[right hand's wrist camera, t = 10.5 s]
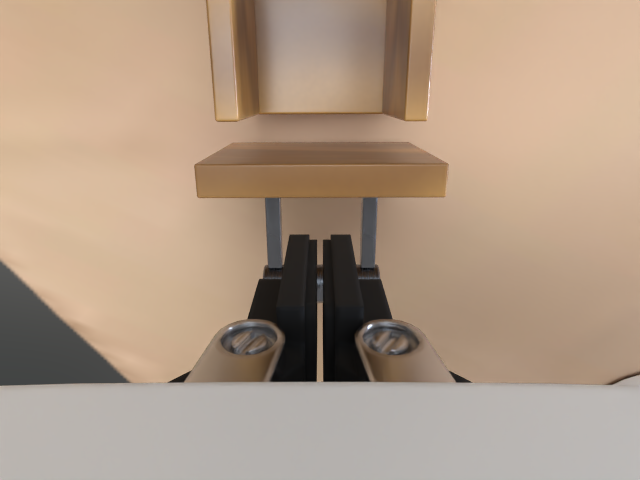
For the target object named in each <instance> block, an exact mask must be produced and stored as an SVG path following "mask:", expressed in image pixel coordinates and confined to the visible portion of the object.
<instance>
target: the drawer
mask: <svg viewBox="0 0 640 480" xmlns="http://www.w3.org/2000/svg"><path fill="white" fill-rule="evenodd" d="M206 6H207V19H208V32H209V45H210V58H211V71H212V83H213V96H214V109H215V120H216V121H218V122H237V121H240V120H243V119H246V118H249V117H252V116H254V115H257V114H385V115H388V116H391V117H395V118H398V119H401V120H404V121H427V119H428V107H429V93H430V80H431V66H432V53H433V39H434V26H435V13H436V0H206ZM448 167H449V165H448V163H446V162H444V161H442V160H440V159H438V158H437V157H435V156H433V155H431V154H429V153H427V152H426V151H424V150H422V149H420V148H418V147H416V146H415V145H413V144H411V143H409V142H337V143H232V144H230V145H228V146H226V147H225V148H223V149H221V150H220V151H218V152H216V153H214V154H213V155H211V156H209V157H207V158H206V159H204V160H202V161H200V162H199V163H197V164H195V166H194V168H195V178H196V189H197V196H198V198H265V208H266V231H267V253H268V265H265V267H264V272H263V279H281V278H282V273H283V268H284V265H283V250H282V219H281V198H356V197H362V204H361V238H360V265H356V268H357V273H358V278H359V279H380V272H379V267H378V265H376V264H375V248H376V224H377V199H378V197H445V196H446V189H447V178H448ZM317 303H323V265H317Z"/></svg>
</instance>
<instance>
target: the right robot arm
mask: <svg viewBox="0 0 640 480" xmlns="http://www.w3.org/2000/svg"><path fill="white" fill-rule="evenodd" d="M0 480H640V375H637V376H634V377H630V378H627V379H624V380H622V381H619V382H617V383H615V384H613V385H588V384H551V383H472V382H470V381H468V380H466V379H464V378H462V377H460V376H458V375H456V374H454V373H452V372H450V371H449V370H448V369H447V368H446V366H445V365H444V363H443V362H442V360H441V359H440V357H439V356H438V354H437V353H436V351H435V350H434V348H433V347H432V345H431V344H430V342H429V341H428V339H427V338H426V336H425V335H424V334H423V333H422V332H421V331H420V329H418V328H416V327H415V326H413V325H411V324H409V323H406V322H403V321H399V320H393V319H392V316H391V312H390V309H389V305H388V302H387V298H386V295H385V292H384V288H383V285H382V281H381V279H359V278H358V273H357V268H356V262H355V257H354V251H353V246H352V241H351V236H350V235H331V240H323V382H317V240H309V235H290V236H289V241H288V246H287V251H286V257H285V262H284V268H283V273H282V278H281V279H259V281H258V285H257V288H256V292H255V295H254V298H253V302H252V305H251V309H250V312H249V315H248V319H247V320H241V321H237V322H234V323H231V324H229V325H227V326H225V327H224V328H222V329H220V331H219V332H218V333H217V334H216V335H215V336H214V338H213V339H212V341H211V342H210V344H209V345H208V347H207V348H206V350H205V351H204V353H203V354H202V356H201V357H200V359H199V360H198V362H197V363H196V365H195V366H194V368H193V369H192V370H191V371H190V372H188V373H186V374H184V375H182V376H180V377H178V378H176V379H174V380H172V381H170V382H168V383H101V384H50V385H17V386H0Z"/></svg>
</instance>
